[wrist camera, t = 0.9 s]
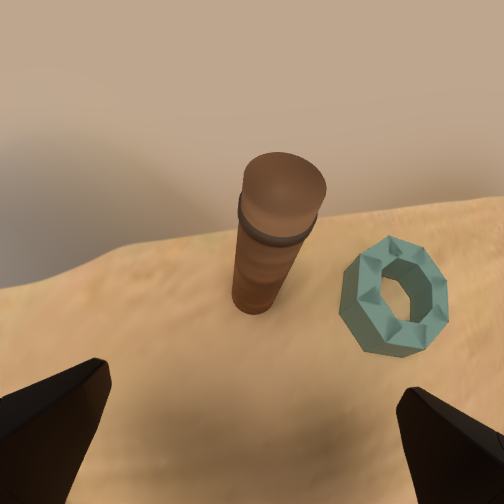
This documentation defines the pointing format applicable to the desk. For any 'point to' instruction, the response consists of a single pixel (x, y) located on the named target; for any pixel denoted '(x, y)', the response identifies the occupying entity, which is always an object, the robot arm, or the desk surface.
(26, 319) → the desk surface
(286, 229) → the banded wooden post
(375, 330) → the green faceted ring
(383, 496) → the desk surface
